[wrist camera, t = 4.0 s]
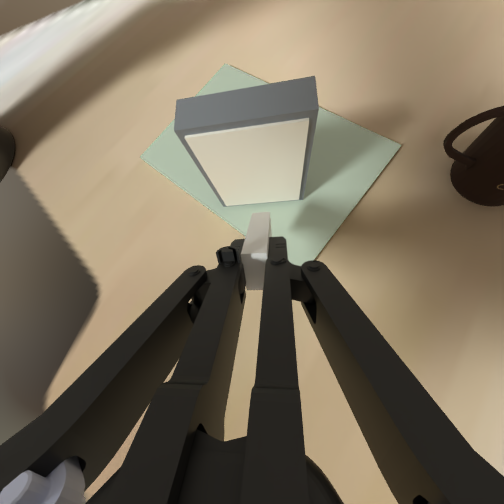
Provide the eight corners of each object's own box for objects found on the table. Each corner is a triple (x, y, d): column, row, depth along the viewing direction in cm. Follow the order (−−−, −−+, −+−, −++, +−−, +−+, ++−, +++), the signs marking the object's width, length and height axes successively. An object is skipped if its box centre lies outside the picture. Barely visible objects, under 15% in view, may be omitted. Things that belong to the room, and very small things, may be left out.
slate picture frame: (303, 201, 22) (319, 111, 12) (223, 208, 24) (173, 133, 13) (301, 179, 23) (314, 75, 12) (223, 187, 24) (176, 99, 14)
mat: (142, 160, 28) (139, 156, 28) (226, 67, 30) (225, 63, 29) (300, 277, 21) (300, 276, 21) (398, 149, 23) (401, 145, 22)
